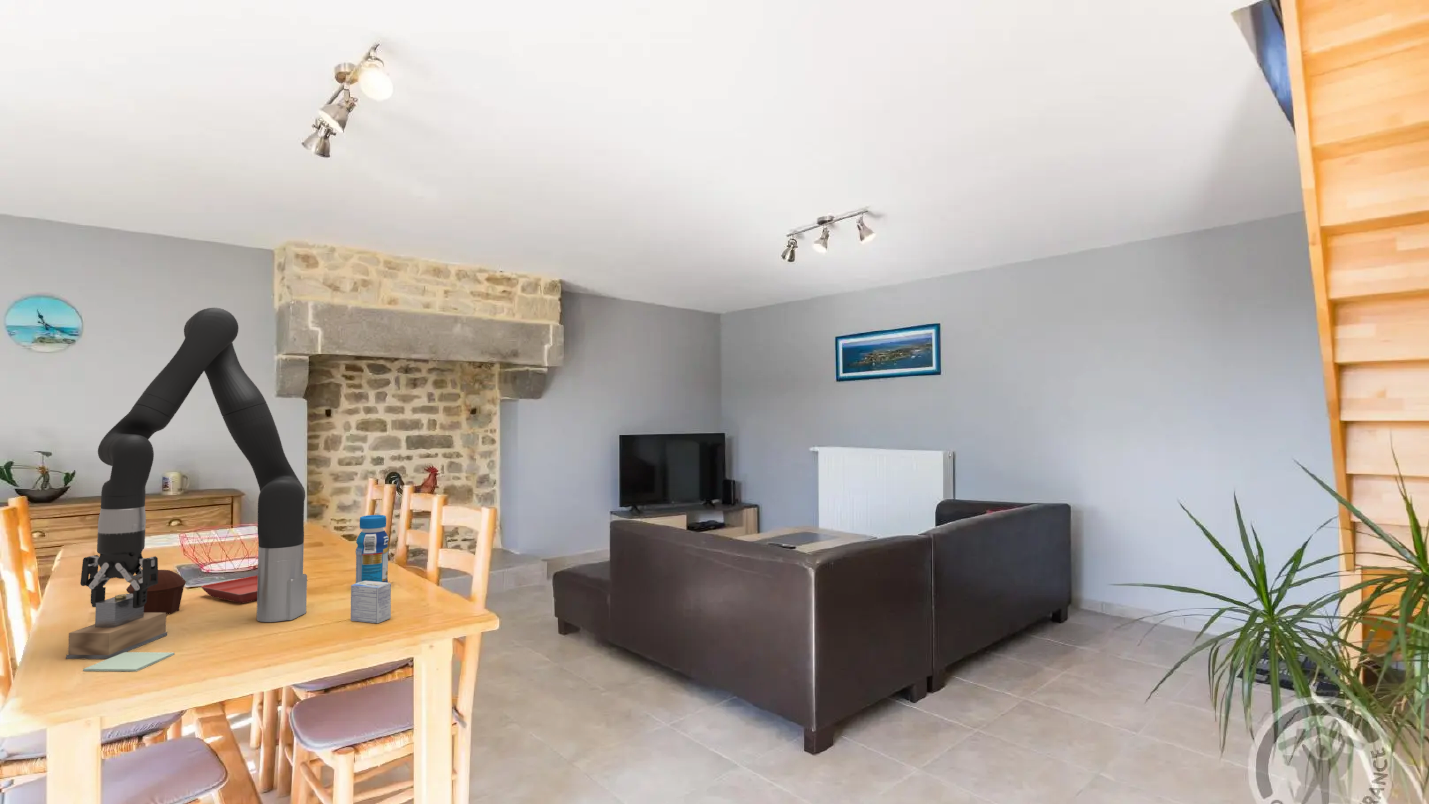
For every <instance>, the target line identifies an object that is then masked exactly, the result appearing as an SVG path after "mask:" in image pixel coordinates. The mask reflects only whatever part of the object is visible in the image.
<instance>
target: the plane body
mask: <svg viewBox="0 0 1429 804" xmlns="http://www.w3.org/2000/svg"><path fill="white" fill-rule="evenodd" d="M166 636H168V631H167V615H166V613H155V612H144V617H143V618H140V619H138V620H135V621H132V622H129V623H126V624H123V625H121V626H118V627H115V628H101V627H95V623H94V624H92V625H87V626H85V627H82V628H79V629H75V630H73V631H71V632H68V644H67V647H68V648H67V649H68V650H67V651H68V653H67V654H66V655H65V659H66V660H69V659H70V660H74V659H75V660H80V659H82V660H87V659H88V660H102V659H103V660H107V659H109V658H111V657H114V656H116V655H119V654H121V653H124V652H131V651H132V650H135V649H137V648H139V647H142V646H144V645H146V644H149V643H151V642H152V643H153V642H154V641H157V640H159V639H161V638H164V637H166Z"/></svg>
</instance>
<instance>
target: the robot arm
mask: <svg viewBox="0 0 1429 804" xmlns="http://www.w3.org/2000/svg"><path fill="white" fill-rule="evenodd" d="M183 327H184V328H183V334H184V339H183V342H182V343H181V345H180V347H179V348H178V350H177V351H176V353H175V354H174V355H173V356H172V358H171V359H170V360H169V362H168V363H167V364H166V365H165V366H164V368H162V369H161V371H160V372H159V373H158V374H157V375H156V376H155V377H154V378H153V379H152V381H151V382H150V383H149V385H148V386H147V387H146V388H145V389H144V391H143V392H142V394H141V395H140V397H139V398H138V399H137V401H136V402H135V403H134V405H133V406H132V407H131V409H130V411H129V412H128V413H126V415H125V416H123V417H122V418H121V419H120V420H119V421H118V422H117V423H116V424H115V425H114V426H113V427H112V428H110V430H109V431H108V432H107V433H106V434H105V435H104V437H102V439H101V441H100V443H99V446H98V447H97V454H98V455H97V456H98V458H99V459H100V461H101V462H103V463H104V465H105V464H106V465H107V466H110V467H111V471H110V472H111V473H110V476H109V477H110V478H109V480H107V481H105V482H104V483H103V485H102V487H101V495H100V512H99V516H98V520H97V521H98V522H97V541H96V542H97V543H96V544H97V545H96V552H97V554H96V555H90V556H85V557H83V559H82V566H81V574H80V575H81V576H80V585H81V586H82V587H85V586H86V587H87V588H88V589H90V604H91V607H92V608H96V603H97V602H100V601H103V600H106V587H105V585H106V584H107V583H108V582H109V580H110V579H114V578H115V579H122V580H124V579H125V581H126V583H129V584H131V585H132V586H133V588H134V589H135V590H134V591H133V608H140V607H143V606H144V605H145V604H146V602H147V589H148V587H150V586H153V585H156V584H158V570H159V560H158V559H159V558H158V556H156V555H155V556H151V557H143V554H142V552H143V550H144V549H145V548H146V547H145V543H146V542H145V541H146V527H147V526H146V523H147V522H146V521H147V515H146V514H147V513H146V485H147V484H148V480H149V478H150V473H151V470H152V466H153V463H154V455H155V453H154V447H153V444H152V442H151V441H150V438H151V437H152V436H153V435H154V434H155V433H157V432H160V431H162V430H164V429H165V428H166V427H167V426H168V425H169V424H170V422H171V421H172V420H173V418H174V417H175V416H176V414H177V412H178V411H179V409H180V408H181V406H182V405H183V403H184V401H185V400H186V399H187V398H188V395H189V394H190V393H191V392H192V390H193V388H194V386H195V385H196V383H197V381H198V380H199V379H200V378H201V376H202V374H203V373H204V374H205V376H206V379H207V380H208V384H209V386H210V389H211V391H212V394H213V397H214V399H215V401H216V404H217V406H218V409H219V411H220V414H221V417H222V419H223V421H224V424H225V426H226V428H227V430H228V432H229V435H231V436H230V437H232V439H233V441H234V443H235V444H236V446H237V447H238V449H239V450H240V452H241V453H242V454H243V455H244V457H245V458H246V460H247V461H248V463H249V465H250V467H251V469H252V471H253V473H254V476H255V479H256V482H257V485H258V489H259V491H260V492H259V494H258V499H257V539H258V540H257V541H258V542H257V543H258V545H257V546H258V548H257V549H258V550H257V552H258V553H257V575H258V580H257V600H256V621H258V622H262V623H275V622H283V621H292V620H294V619H296V618H299V617H300V616H303V615H304V614H307V598H308V597H307V593H308V592H307V591H308V588H307V587H308V583H307V582H308V581H307V580H308V574H306V573H304V549H305V548H304V547H305V546H304V545H305V543H304V542H305V528H304V527H305V526H304V523H305V521H304V520H305V519H304V518H305V500H306V491H305V487H304V486H303V483H301V481H300V480H299V478H298V476H297V475H296V473H295V471H294V469H293V467H292V466H291V464H290V462H289V460H288V458H287V456H286V454H285V450H284V448H283V445H282V441H281V437H280V434H279V432H278V428H277V425H276V422H275V420H274V417H273V414H272V413H271V411H270V408H269V405H268V404H267V401H266V399H265V397H264V395H263V394H262V392H261V391H260V389H259V388H258V387H257V385H256V384H255V383H254V381H253V380H252V379H251V378H250V377H249V376H248V374H247V373H246V372H245V370H244V368H243V367H242V364H241V363H240V361H239V358H238V356H237V353H236V351H235V346H234V343H233V342H234V341H235V340H236V338H237V336H238V334H239V323H238V320H237V319H236V317H235V316H234V315H233V314H232V313H231V312H230V311H228V310H226V309H223V308H219V307H207V308H203V309H202V310H201V309H200V310H199V311H197V312H195V313H194V314H193V315H191V317H190V318H188V319H187V320H186V322H185V325H184V326H183ZM98 554H99V555H98ZM99 568H100V569H99ZM150 575H151V580H150ZM138 581H139V582H138Z"/></svg>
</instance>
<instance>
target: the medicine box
mask: <svg viewBox="0 0 1429 804" xmlns="http://www.w3.org/2000/svg"><path fill="white" fill-rule="evenodd" d="M391 602H392V583H391V582H388V583H386V582H376V581H362V582H358V583H356V582H355V583H353V584H351V585H350V621H351V622H352V621H353V622H362V623H369V624H370V623H371V624H372V623H373V624H380V623H383V622H385V621H387V620H389V619H390V620H391V617H392V613H391V612H392V610H391V609H392V603H391Z"/></svg>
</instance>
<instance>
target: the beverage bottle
mask: <svg viewBox="0 0 1429 804" xmlns="http://www.w3.org/2000/svg"><path fill="white" fill-rule="evenodd" d="M386 527H387V515H384V514H370V515H362V516H361V517H359V530H361V531H360V533H359V534H358V536H357V537H356V541H355V542H356V545H357V547H356V549H355V583H358V582H362V581H376V582H386V583H389V580H388V578H389V574H388V573H389V553H390V546H389V544H388V543H389V541H390V539H389V536H388V534H387V532H386V531H385V528H386Z"/></svg>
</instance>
